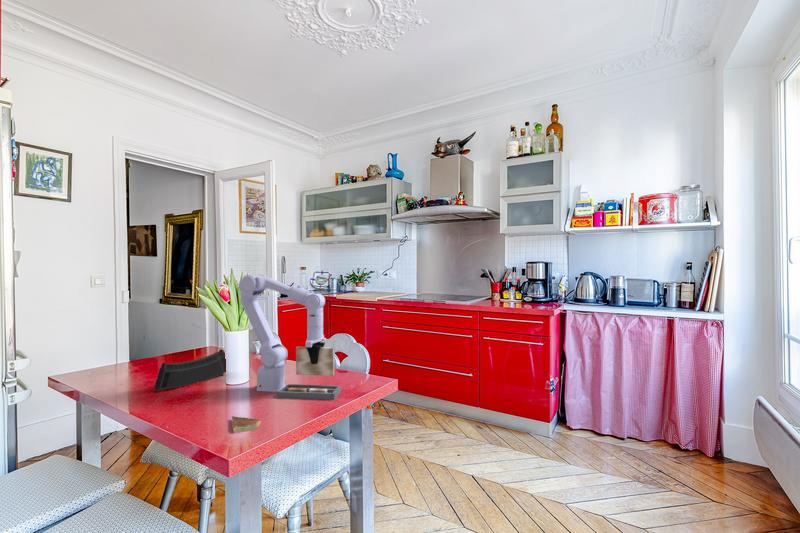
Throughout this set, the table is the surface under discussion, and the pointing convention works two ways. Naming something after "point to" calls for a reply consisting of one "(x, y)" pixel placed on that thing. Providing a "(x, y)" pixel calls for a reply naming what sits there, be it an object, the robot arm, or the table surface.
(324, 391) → the offcut
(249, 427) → the shard
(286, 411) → the table surface
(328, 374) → the sheet
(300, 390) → the offcut
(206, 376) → the magazine
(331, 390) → the rack
